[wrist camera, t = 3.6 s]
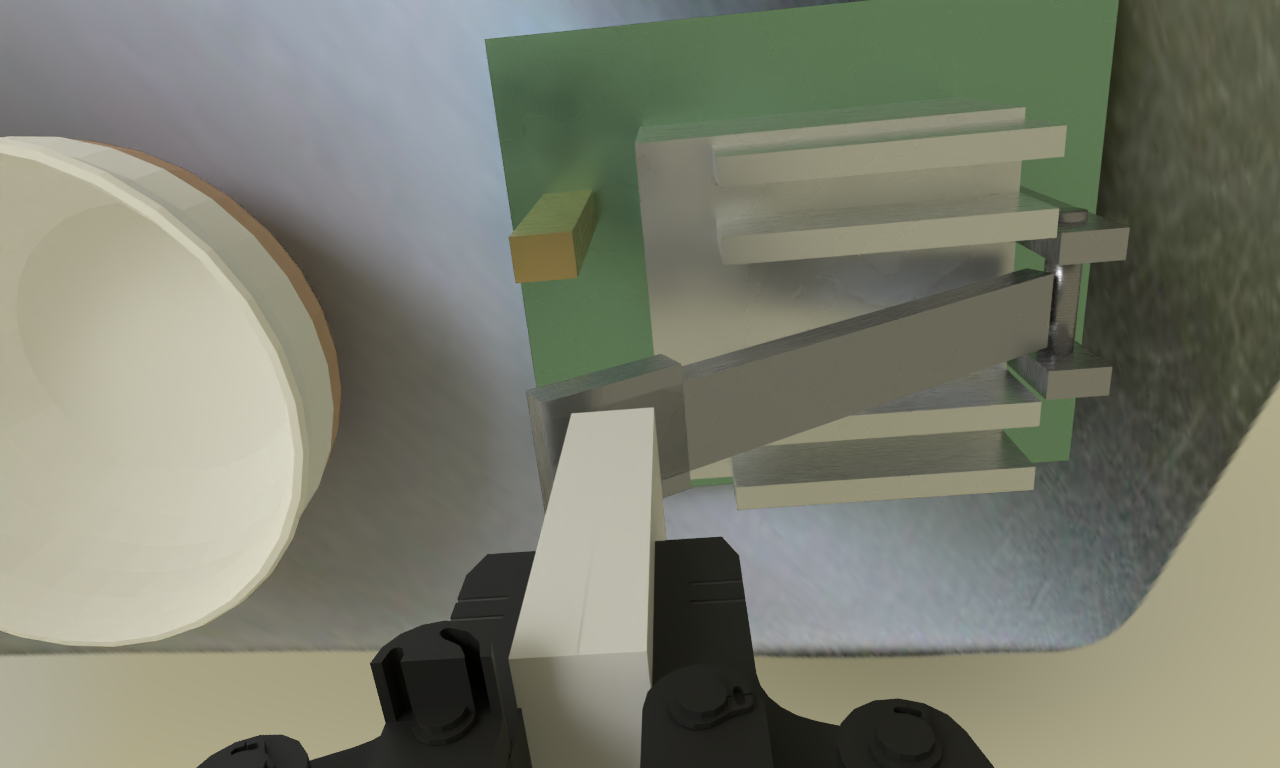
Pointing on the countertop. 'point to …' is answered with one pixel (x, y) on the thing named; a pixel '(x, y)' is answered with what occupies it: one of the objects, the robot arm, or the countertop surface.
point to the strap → (801, 375)
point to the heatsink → (818, 212)
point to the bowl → (147, 396)
